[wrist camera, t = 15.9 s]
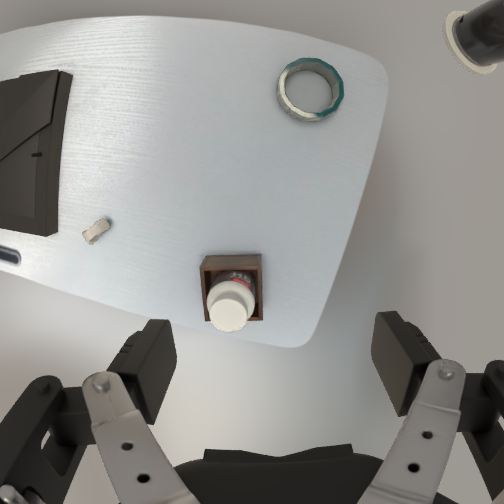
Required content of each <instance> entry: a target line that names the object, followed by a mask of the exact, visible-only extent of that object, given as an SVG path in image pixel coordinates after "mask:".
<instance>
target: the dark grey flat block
mask: <svg viewBox="0 0 504 504" xmlns="http://www.w3.org/2000/svg"><path fill="white" fill-rule="evenodd" d="M72 76H73V75H71V74H69V73H66V72H63V71H59V70H58V69H57V70H50V71H43V72H37V73H31V74H26V75H21V76H20V77H19V78H15V79H10V80H6V81H1V82H0V228H2V229H7V230H12V231H18V232H23V233H29V234H34V235H40V236H45V237H47V236H49V235H52V234H54V233H56V232H58V186H59V170H60V158H61V147H62V138H63V130H64V122H65V115H66V109H67V103H68V97H69V92H70V86H71V81H72Z"/></svg>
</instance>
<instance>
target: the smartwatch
mask: <svg viewBox="0 0 504 504" xmlns="http://www.w3.org/2000/svg"><path fill="white" fill-rule="evenodd" d="M109 228H110V225H109V223H108V222H107V221H106V219H104V218H102V219H100V220H99V221H96V222H95V224H94V225H93V226H92V227H90V228H89V229H88V230H86V231H84V232H82V235H83V237H84V238H85V240H86V241H87V243H88V244H90V245H92V244H94V242H96V241H97V240H98V237H99V236H100V235H101V234H102V233H103V232H105V231H106V230H107V229H109Z"/></svg>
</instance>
